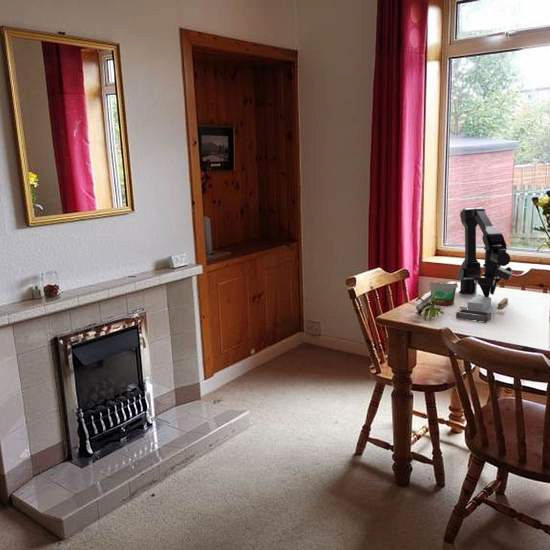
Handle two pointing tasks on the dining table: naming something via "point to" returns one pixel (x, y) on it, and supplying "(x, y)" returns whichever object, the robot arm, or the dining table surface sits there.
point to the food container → (443, 293)
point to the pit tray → (473, 315)
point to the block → (480, 303)
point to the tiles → (496, 311)
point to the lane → (501, 302)
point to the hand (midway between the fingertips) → (489, 296)
